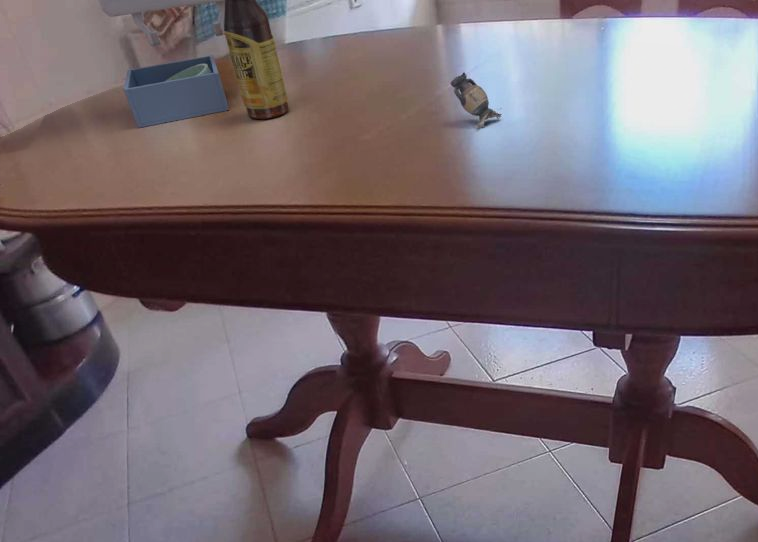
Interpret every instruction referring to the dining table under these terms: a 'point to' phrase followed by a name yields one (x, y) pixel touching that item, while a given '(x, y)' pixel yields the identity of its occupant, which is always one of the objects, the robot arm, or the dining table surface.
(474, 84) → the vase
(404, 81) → the dining table surface
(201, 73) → the mint green bowl
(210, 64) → the tub
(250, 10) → the sauce bottle
